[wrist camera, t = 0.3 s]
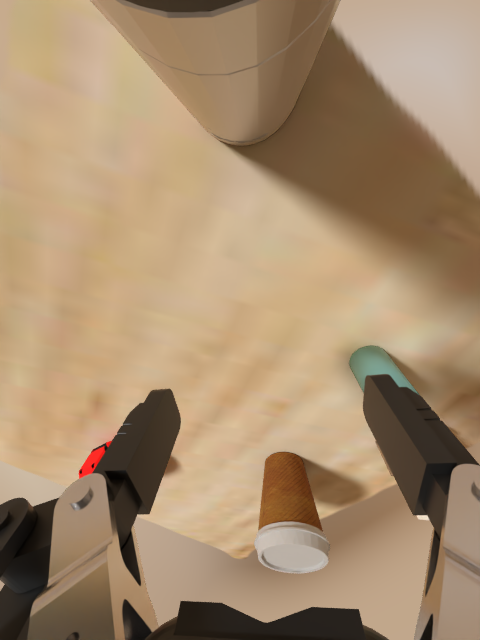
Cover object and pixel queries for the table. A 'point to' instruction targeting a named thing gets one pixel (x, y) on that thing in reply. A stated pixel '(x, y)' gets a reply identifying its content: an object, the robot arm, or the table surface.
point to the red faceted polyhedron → (93, 460)
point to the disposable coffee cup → (289, 519)
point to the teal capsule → (376, 366)
